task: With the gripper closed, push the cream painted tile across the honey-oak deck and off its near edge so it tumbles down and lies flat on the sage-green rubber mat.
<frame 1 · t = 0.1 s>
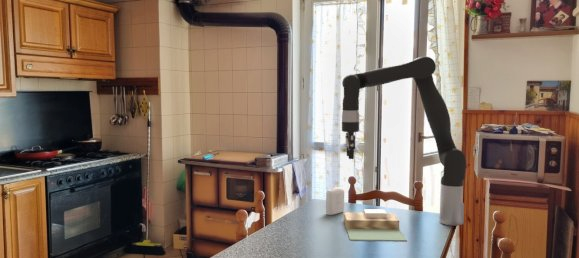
hand: (350, 157, 191), 29 cm above the table, fingers open, 8 cm apart
sage mat: (375, 235, 176), on the table
oak deck: (370, 225, 189), on the table
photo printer: (335, 213, 208), on the table
cream tile: (375, 215, 189), point 4 cm above the table, touching oak deck
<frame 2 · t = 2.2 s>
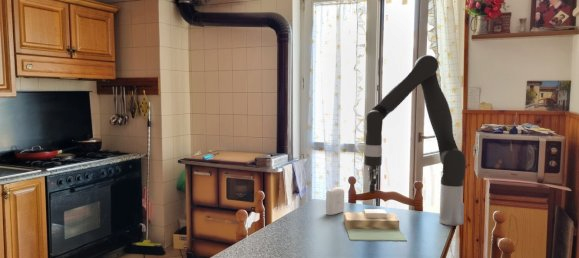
hand: (372, 192, 197), 12 cm above the table, fingers closed
nothing on the table moved.
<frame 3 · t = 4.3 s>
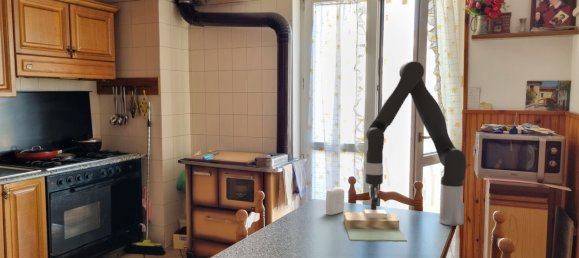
hand: (373, 210, 193), 5 cm above the table, fingers closed
cream tile: (375, 216, 189), point 4 cm above the table, touching gripper, oak deck
everything else where it was.
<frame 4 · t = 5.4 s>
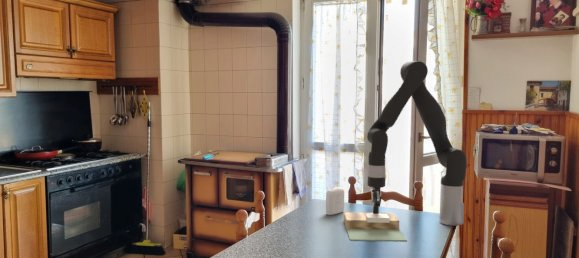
hand: (375, 214, 187), 5 cm above the table, fingers closed
cream tile: (377, 220, 183), point 4 cm above the table, touching gripper, oak deck
everything else where it was.
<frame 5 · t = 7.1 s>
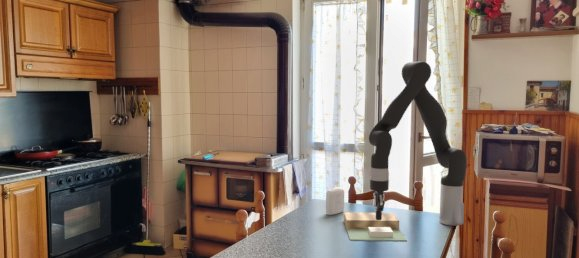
hand: (378, 219, 180), 5 cm above the table, fingers closed
cream tile: (380, 229, 176), point 2 cm above the table, tilted 180°, touching sage mat
everything else where it was.
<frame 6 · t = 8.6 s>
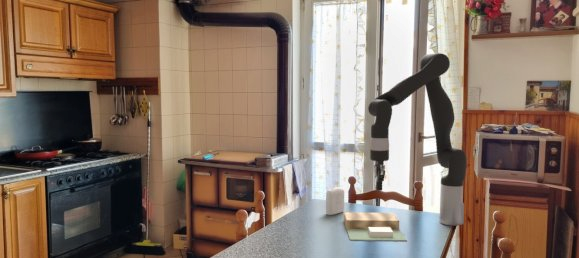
hand: (379, 190, 179), 17 cm above the table, fingers closed
nothing on the table moved.
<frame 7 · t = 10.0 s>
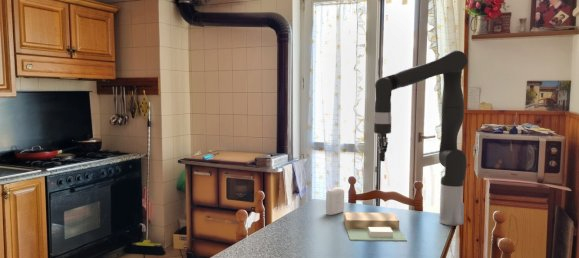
hand: (382, 160, 195), 27 cm above the table, fingers closed
nothing on the table moved.
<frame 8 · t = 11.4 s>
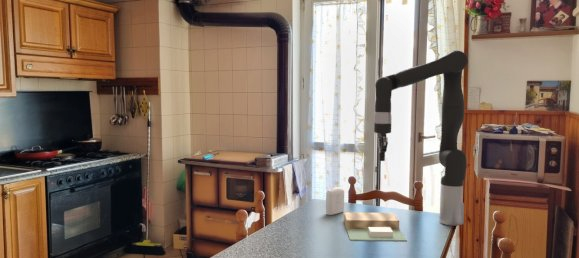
hand: (382, 160, 195), 27 cm above the table, fingers closed
nothing on the table moved.
at the end: cream tile inside the target area (2.2 cm from its centre), point 2.4 cm above the table; cream tile point 2.4 cm above the table; cream tile touching sage mat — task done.
